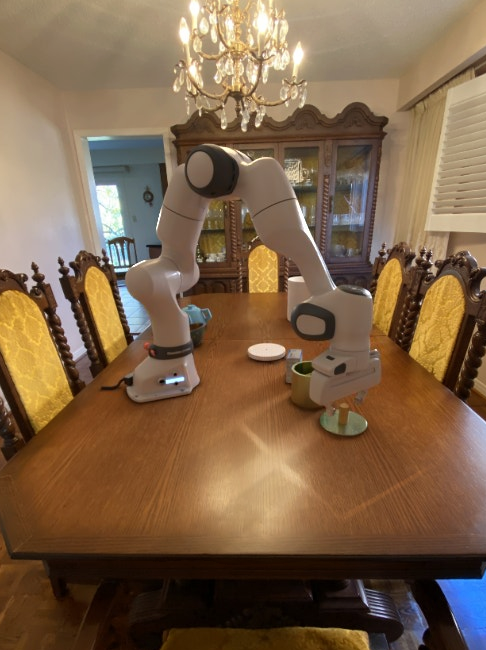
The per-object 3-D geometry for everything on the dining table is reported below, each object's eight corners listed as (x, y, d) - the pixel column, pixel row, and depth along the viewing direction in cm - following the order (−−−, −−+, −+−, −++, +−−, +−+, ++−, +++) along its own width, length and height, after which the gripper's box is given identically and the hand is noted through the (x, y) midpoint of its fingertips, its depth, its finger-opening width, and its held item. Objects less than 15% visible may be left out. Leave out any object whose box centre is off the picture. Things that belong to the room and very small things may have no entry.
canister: (286, 323, 168) (286, 281, 161) (288, 314, 183) (289, 276, 176) (319, 323, 166) (321, 282, 159) (319, 314, 181) (321, 276, 173)
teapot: (187, 334, 156) (185, 311, 152) (169, 327, 166) (167, 305, 162) (214, 326, 166) (212, 304, 162) (195, 320, 176) (193, 300, 172)
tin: (307, 414, 92) (308, 380, 88) (284, 398, 100) (284, 366, 96) (336, 403, 96) (338, 370, 93) (312, 388, 105) (313, 358, 101)
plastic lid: (265, 366, 121) (265, 359, 120) (240, 355, 131) (240, 349, 130) (293, 355, 129) (293, 349, 128) (267, 346, 139) (267, 340, 138)
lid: (342, 444, 79) (344, 423, 77) (310, 421, 88) (310, 402, 86) (376, 429, 84) (379, 409, 82) (343, 408, 94) (344, 390, 92)
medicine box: (300, 384, 108) (300, 358, 105) (285, 383, 109) (286, 357, 105) (301, 373, 115) (302, 349, 112) (288, 372, 116) (288, 348, 113)
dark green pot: (157, 344, 145) (154, 320, 142) (205, 340, 148) (203, 317, 144) (154, 355, 133) (150, 330, 130) (206, 351, 136) (204, 326, 132)
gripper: (370, 344, 87) (365, 392, 92) (305, 362, 77) (304, 415, 82) (390, 351, 82) (384, 402, 87) (325, 372, 72) (322, 428, 77)
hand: (345, 409), depth 85 cm, fingers open, 8 cm apart
